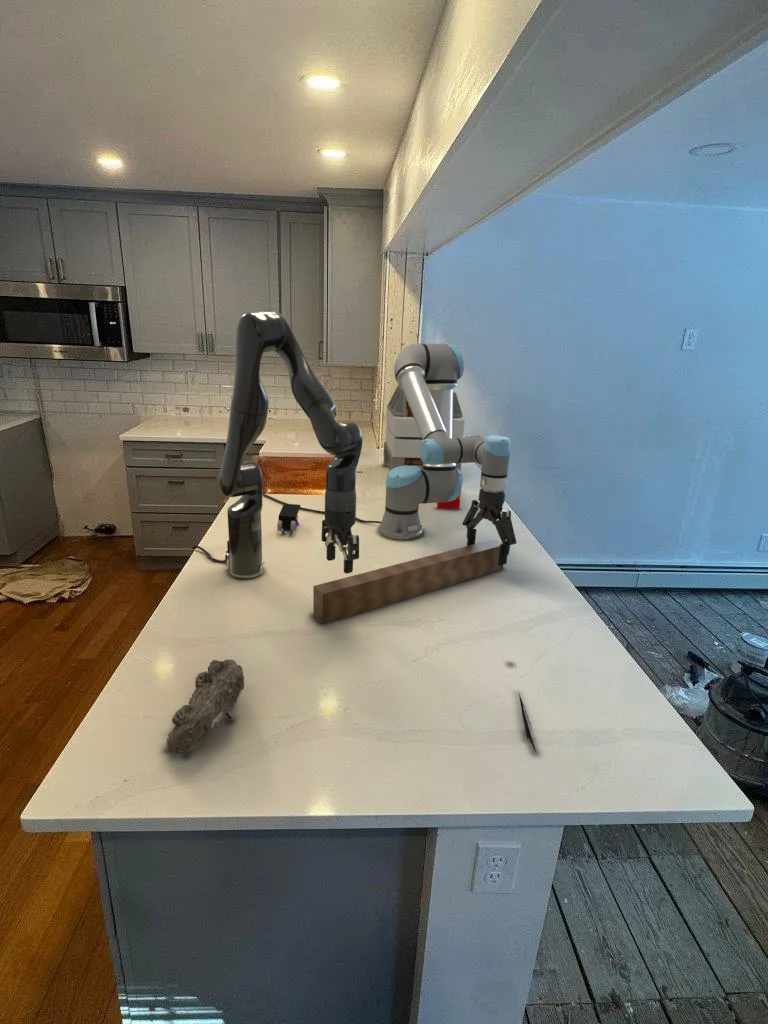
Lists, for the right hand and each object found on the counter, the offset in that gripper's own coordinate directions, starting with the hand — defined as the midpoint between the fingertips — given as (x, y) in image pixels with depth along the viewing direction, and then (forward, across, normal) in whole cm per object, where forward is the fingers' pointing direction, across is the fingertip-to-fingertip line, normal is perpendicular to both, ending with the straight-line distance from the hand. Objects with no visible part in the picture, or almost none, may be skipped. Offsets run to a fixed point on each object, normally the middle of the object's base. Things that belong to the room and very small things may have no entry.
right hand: (485, 556), depth 173 cm
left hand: (-8, 0, -52) cm, 52 cm away
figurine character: (+4, -59, -37) cm, 70 cm away
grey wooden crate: (+2, -96, +50) cm, 108 cm away
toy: (+3, -61, +35) cm, 70 cm away
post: (+5, -1, -26) cm, 26 cm away
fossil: (+6, +21, -92) cm, 94 cm away
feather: (+6, +50, -38) cm, 63 cm away
